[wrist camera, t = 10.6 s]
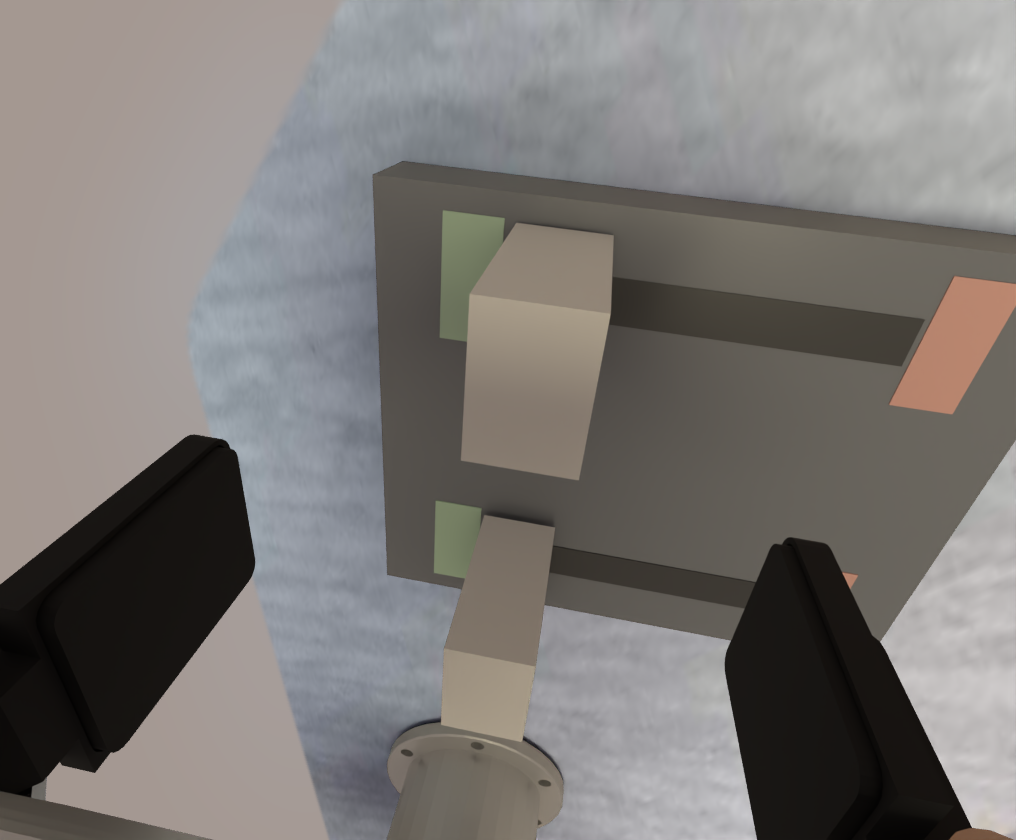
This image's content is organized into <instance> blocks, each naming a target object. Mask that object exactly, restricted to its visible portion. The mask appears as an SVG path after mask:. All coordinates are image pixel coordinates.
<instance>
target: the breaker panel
mask: <svg viewBox="0 0 1016 840" xmlns="http://www.w3.org/2000/svg"><path fill="white" fill-rule="evenodd" d="M373 197H374V224H375V252H376V279H377V306H378V333H379V360H380V388H381V415H382V442H383V469H384V496H385V524H386V551H387V575H391V576H396V577H401V578H406V579H412V580H417V581H422V582H427V583H433V584H438V585H443V586H448V587H454V588H459V589H462V587H463V584H464V581H465V577H466V574H467V571H468V568H469V564H470V561H471V558H472V554H473V551H474V548H475V544H476V541H477V538H478V534H479V531H480V528H481V524H482V521H483V518H484V515H487V516H493V517H499V518H504V519H510V520H516V521H521V522H527V523H532V524H538V525H544V526H549V527H555V533H554V540H553V547H552V554H551V561H550V569H549V576H548V583H547V590H546V597H545V604H544V605H548V606H553V607H558V608H564V609H569V610H574V611H579V612H585V613H590V614H595V615H600V616H606V617H611V618H616V619H621V620H627V621H632V622H637V623H642V624H648V625H653V626H658V627H663V628H669V629H674V630H679V631H684V632H690V633H695V634H700V635H705V636H711V637H716V638H721V639H726V640H732V637H733V635H734V633H735V630H736V628H737V626H738V623H739V621H740V618H741V616H742V614H743V611H744V609H745V607H746V604H747V602H748V600H749V597H750V595H751V592H752V590H753V588H754V585H755V583H756V581H757V578H758V576H759V574H760V571H761V569H762V567H763V564H764V562H765V559H766V557H767V555H768V552H769V550H770V548H771V546H772V545H773V544H781V545H782V543H783V542H784V540H785V539H786V538H788V537H793V538H799V539H805V540H810V541H816V542H822V543H825V544H827V545H828V546H829V547H830V549H831V550H832V552H833V554H834V556H835V559H836V561H837V563H838V565H839V567H840V569H841V571H842V573H843V575H844V577H845V579H846V582H847V584H848V586H849V588H850V590H851V592H852V594H853V596H854V598H855V600H856V602H857V605H858V607H859V609H860V611H861V613H862V615H863V617H864V619H865V621H866V623H867V625H868V628H869V630H870V632H871V634H872V636H874V637H875V638H876V639H877V640H879V641H881V640H882V638H883V637H884V635H885V634H886V632H887V631H888V629H889V628H890V626H891V625H892V623H893V622H894V620H895V619H896V617H897V616H898V614H899V613H900V611H901V610H902V608H903V607H904V605H905V604H906V602H907V601H908V599H909V598H910V596H911V595H912V593H913V592H914V590H915V589H916V587H917V586H918V585H919V583H920V582H921V580H922V579H923V577H924V576H925V574H926V573H927V571H928V570H929V568H930V567H931V565H932V564H933V562H934V561H935V559H936V558H937V556H938V555H939V553H940V552H941V550H942V549H943V547H944V546H945V544H946V543H947V541H948V540H949V538H950V537H951V535H952V534H953V532H954V531H955V529H956V528H957V526H958V525H959V523H960V522H961V520H962V519H963V518H964V516H965V515H966V513H967V512H968V510H969V509H970V507H971V506H972V504H973V503H974V501H975V500H976V498H977V497H978V495H979V494H980V492H981V491H982V489H983V488H984V486H985V485H986V483H987V482H988V480H989V479H990V477H991V476H992V474H993V473H994V471H995V470H996V468H997V467H998V465H999V464H1000V462H1001V461H1002V459H1003V458H1004V456H1005V455H1006V453H1007V452H1008V451H1009V449H1010V448H1011V446H1012V445H1013V443H1014V442H1015V440H1016V236H1015V235H1007V234H999V233H990V232H982V231H974V230H966V229H957V228H949V227H941V226H933V225H924V224H916V223H908V222H900V221H891V220H883V219H875V218H867V217H858V216H850V215H842V214H834V213H825V212H817V211H809V210H801V209H792V208H784V207H776V206H768V205H759V204H751V203H743V202H735V201H726V200H718V199H710V198H702V197H693V196H685V195H677V194H669V193H660V192H652V191H644V190H636V189H627V188H619V187H611V186H603V185H594V184H586V183H578V182H570V181H561V180H553V179H545V178H537V177H528V176H520V175H512V174H504V173H495V172H487V171H479V170H471V169H462V168H454V167H446V166H438V165H429V164H421V163H413V162H405V161H402V162H400V163H398V164H396V165H393V166H391V167H389V168H387V169H384V170H382V171H380V172H377V173H375V174H373ZM516 223H523V224H531V225H538V226H546V227H554V228H562V229H569V230H577V231H585V232H593V233H600V234H608V235H614V242H613V268H612V294H611V315H610V320H609V326H608V331H607V336H606V341H605V347H604V352H603V357H602V362H601V367H600V373H599V378H598V383H597V388H596V393H595V399H594V404H593V409H592V414H591V420H590V425H589V430H588V435H587V440H586V446H585V451H584V456H583V461H582V467H581V472H580V477H579V480H573V479H567V478H561V477H555V476H549V475H543V474H538V473H532V472H526V471H520V470H514V469H508V468H502V467H496V466H490V465H484V464H479V463H473V462H467V461H461V449H462V430H463V411H464V391H465V372H466V353H467V334H468V315H469V296H470V292H471V291H472V289H473V288H474V286H475V285H476V283H477V282H478V280H479V279H480V277H481V276H482V274H483V273H484V271H485V270H486V268H487V267H488V265H489V264H490V262H491V261H492V259H493V258H494V256H495V255H496V253H497V251H498V250H499V248H500V247H501V245H502V244H503V242H504V241H505V239H506V238H507V236H508V235H509V233H510V232H511V230H512V229H513V227H514V226H515V224H516Z"/></svg>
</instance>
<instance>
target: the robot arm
mask: <svg viewBox="0 0 1016 840" xmlns="http://www.w3.org/2000/svg"><path fill="white" fill-rule="evenodd" d="M254 568H255V556H254V550H253V544H252V538H251V532H250V527H249V521H248V515H247V509H246V503H245V497H244V491H243V486H242V480H241V474H240V468H239V462H238V457H237V453H236V452H235V451H234V450H232V449H230V447H229V444H228V443H227V442H226V441H225V440H222V439H217V438H211V437H205V436H200V435H189V436H187V437H185V438H184V439H183V440H181V441H180V442H179V443H178V444H177V445H175V446H174V447H173V448H171V449H170V450H169V451H168V452H166V453H165V454H164V455H163V456H161V457H160V458H159V459H158V460H156V461H155V462H154V463H152V464H151V465H150V466H149V467H148V468H146V469H145V470H144V471H142V472H141V473H140V474H139V475H137V476H136V477H135V478H134V479H132V480H131V481H130V482H129V483H127V484H126V485H125V486H124V487H122V488H121V489H120V490H119V491H117V492H116V493H115V494H114V495H112V496H111V497H110V498H108V499H107V500H106V501H105V502H103V503H102V504H101V505H100V506H98V507H97V508H96V509H95V510H93V511H92V512H91V513H90V514H88V515H87V516H86V517H85V518H83V519H82V520H81V521H80V522H78V523H77V524H76V525H75V526H73V527H72V528H71V529H70V530H68V531H67V532H66V533H65V534H63V535H62V536H61V537H60V538H58V539H57V540H56V541H55V542H53V543H52V544H51V545H49V546H48V547H47V548H46V549H44V550H43V551H42V552H41V553H39V554H38V555H37V556H36V557H35V558H33V559H32V560H31V561H29V562H28V563H27V564H26V565H25V566H23V567H22V568H21V569H19V570H18V571H17V572H15V573H14V574H13V575H12V576H11V577H9V578H8V579H7V580H5V581H4V582H3V583H2V584H0V840H212V839H208V838H204V837H199V836H195V835H191V834H187V833H182V832H178V831H174V830H170V829H165V828H161V827H157V826H152V825H148V824H144V823H140V822H135V821H131V820H126V819H123V818H118V817H114V816H110V815H105V814H101V813H97V812H93V811H88V810H84V809H80V808H75V807H71V806H67V805H63V804H58V803H53V802H48V801H45V796H46V781H47V776H48V775H49V774H50V773H51V772H52V770H53V769H54V768H55V767H56V766H57V764H58V763H59V762H60V763H61V764H62V765H63V766H68V767H72V768H77V769H80V770H85V771H89V772H94V773H95V772H96V771H97V770H98V768H99V767H100V766H101V764H102V763H103V762H104V760H105V759H106V758H107V756H108V755H109V754H110V753H111V752H113V753H114V752H116V751H119V750H120V749H121V748H123V747H124V746H125V744H126V743H127V742H128V741H129V740H130V738H131V737H132V736H133V734H134V733H135V732H136V730H137V729H138V728H139V726H140V725H141V723H142V722H143V721H144V719H145V718H146V717H147V716H148V714H149V713H150V712H151V710H152V709H153V708H154V706H155V705H156V704H157V702H158V701H159V700H160V699H161V697H162V696H163V695H164V693H165V692H166V690H167V689H168V688H169V686H170V685H171V684H172V682H173V681H174V680H175V678H176V677H177V676H178V675H179V673H180V672H181V671H182V669H183V668H184V667H185V665H186V664H187V663H188V661H189V660H190V659H191V657H192V656H193V655H194V653H195V652H196V651H197V649H198V648H199V647H200V645H201V644H202V643H203V641H204V640H205V639H206V637H207V636H208V635H209V633H210V632H211V631H212V629H213V628H214V627H215V625H216V624H217V623H218V621H219V620H220V619H221V618H222V616H223V615H224V613H225V612H226V611H227V609H228V608H229V607H230V606H231V604H232V603H233V601H234V600H235V599H236V598H237V596H238V595H239V594H240V592H241V591H242V590H243V588H244V587H245V586H246V584H247V583H248V582H249V580H250V579H251V577H252V574H253V572H254ZM725 675H726V680H727V685H728V690H729V695H730V701H731V706H732V711H733V716H734V721H735V727H736V732H737V737H738V742H739V747H740V753H741V758H742V763H743V768H744V773H745V779H746V784H747V789H748V794H749V799H750V805H751V810H752V815H753V820H754V826H755V831H756V836H757V840H1013V839H1011V838H1008V837H1006V836H1003V835H1001V834H998V833H996V832H993V831H991V830H984V829H976V828H972V827H971V825H970V823H969V821H968V819H967V817H966V815H965V813H964V810H963V808H962V806H961V804H960V802H959V800H958V798H957V796H956V794H955V792H954V790H953V788H952V786H951V784H950V782H949V780H948V778H947V776H946V774H945V772H944V770H943V768H942V765H941V763H940V761H939V759H938V757H937V755H936V753H935V751H934V749H933V747H932V745H931V743H930V741H929V739H928V737H927V735H926V733H925V731H924V729H923V727H922V725H921V722H920V720H919V718H918V716H917V714H916V712H915V710H914V708H913V706H912V704H911V702H910V700H909V698H908V696H907V694H906V692H905V690H904V688H903V686H902V684H901V682H900V680H899V677H898V675H897V673H896V671H895V669H894V667H893V665H892V663H891V661H890V659H889V657H888V655H887V653H886V651H885V649H884V648H883V646H882V645H881V643H880V641H879V640H877V639H876V638H875V637H874V636H872V634H871V632H870V630H869V628H868V625H867V623H866V621H865V619H864V617H863V615H862V613H861V611H860V609H859V607H858V605H857V602H856V600H855V598H854V596H853V594H852V592H851V590H850V588H849V586H848V584H847V582H846V579H845V577H844V575H843V573H842V571H841V569H840V567H839V565H838V563H837V561H836V559H835V556H834V554H833V552H832V550H831V549H830V547H829V546H828V545H827V544H825V543H822V542H816V541H810V540H805V539H799V538H793V537H788V538H786V539H785V540H784V542H783V543H782V545H781V544H773V545H772V546H771V548H770V550H769V552H768V555H767V557H766V559H765V562H764V564H763V567H762V569H761V571H760V574H759V576H758V578H757V581H756V583H755V585H754V588H753V590H752V592H751V595H750V597H749V600H748V602H747V604H746V607H745V609H744V611H743V614H742V616H741V618H740V621H739V623H738V626H737V628H736V630H735V633H734V635H733V637H732V640H731V642H730V644H729V647H728V649H727V652H726V657H725ZM387 772H388V775H389V778H390V780H391V782H392V784H393V785H394V787H395V788H396V790H397V791H398V792H399V793H400V797H399V801H398V804H397V807H396V811H395V814H394V817H393V821H392V824H391V827H390V831H389V834H388V837H387V840H536V834H537V828H540V827H542V826H544V825H546V824H548V823H550V822H551V821H552V820H553V819H554V818H555V817H556V816H557V815H558V814H559V812H560V810H561V808H562V803H563V793H564V787H563V780H562V778H561V775H560V773H559V771H558V770H557V768H556V767H555V766H554V764H553V763H552V762H551V761H550V760H549V759H548V758H547V757H546V756H545V755H544V754H543V753H542V752H540V751H539V750H538V749H536V748H535V747H533V746H532V745H530V744H529V743H527V742H525V741H523V740H522V742H519V741H514V740H510V739H505V738H500V737H496V736H491V735H486V734H482V733H477V732H472V731H468V730H463V729H458V728H454V727H449V726H444V725H441V722H437V723H428V724H425V725H421V726H418V727H414V728H412V729H410V730H409V731H407V732H405V733H403V734H402V735H401V736H400V737H399V738H398V739H396V741H395V743H394V744H393V746H392V748H391V752H390V755H389V758H388V762H387Z"/></svg>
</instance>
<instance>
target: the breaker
mask: <svg viewBox="0 0 1016 840" xmlns="http://www.w3.org/2000/svg"><path fill="white" fill-rule="evenodd" d="M554 533H555V527H549V526H544V525H538V524H532V523H527V522H521V521H516V520H510V519H504V518H499V517H493V516H487V515H484V518H483V521H482V524H481V528H480V531H479V534H478V538H477V541H476V544H475V548H474V551H473V554H472V558H471V561H470V564H469V568H468V571H467V574H466V577H465V581H464V584H463V587H462V591H461V594H460V597H459V601H458V604H457V607H456V611H455V614H454V617H453V621H452V624H451V627H450V630H449V634H448V637H447V640H446V644H445V647H444V662H443V686H442V710H441V725H444V726H449V727H454V728H458V729H463V730H468V731H472V732H477V733H482V734H486V735H491V736H496V737H500V738H505V739H510V740H514V741H519V742H522V740H523V734H524V729H525V723H526V718H527V712H528V707H529V701H530V696H531V690H532V685H533V679H534V674H535V668H536V661H537V654H538V647H539V640H540V633H541V626H542V618H543V611H544V604H545V597H546V590H547V583H548V576H549V569H550V561H551V554H552V547H553V540H554Z"/></svg>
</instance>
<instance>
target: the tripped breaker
mask: <svg viewBox="0 0 1016 840" xmlns="http://www.w3.org/2000/svg"><path fill="white" fill-rule="evenodd" d="M613 242H614V235H608V234H600V233H593V232H585V231H577V230H569V229H562V228H554V227H546V226H538V225H531V224H523V223H516V224H515V226H514V227H513V229H512V230H511V232H510V233H509V235H508V236H507V238H506V239H505V241H504V242H503V244H502V245H501V247H500V248H499V250H498V251H497V253H496V255H495V256H494V258H493V259H492V261H491V262H490V264H489V265H488V267H487V268H486V270H485V271H484V273H483V274H482V276H481V277H480V279H479V280H478V282H477V283H476V285H475V286H474V288H473V289H472V291H471V292H470V296H469V315H468V334H467V353H466V372H465V391H464V411H463V430H462V449H461V461H467V462H473V463H479V464H484V465H490V466H496V467H502V468H508V469H514V470H520V471H526V472H532V473H538V474H543V475H549V476H555V477H561V478H567V479H573V480H579V477H580V472H581V467H582V461H583V456H584V451H585V446H586V440H587V435H588V430H589V425H590V420H591V414H592V409H593V404H594V399H595V393H596V388H597V383H598V378H599V373H600V367H601V362H602V357H603V352H604V347H605V341H606V336H607V331H608V326H609V320H610V315H611V294H612V268H613Z"/></svg>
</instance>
